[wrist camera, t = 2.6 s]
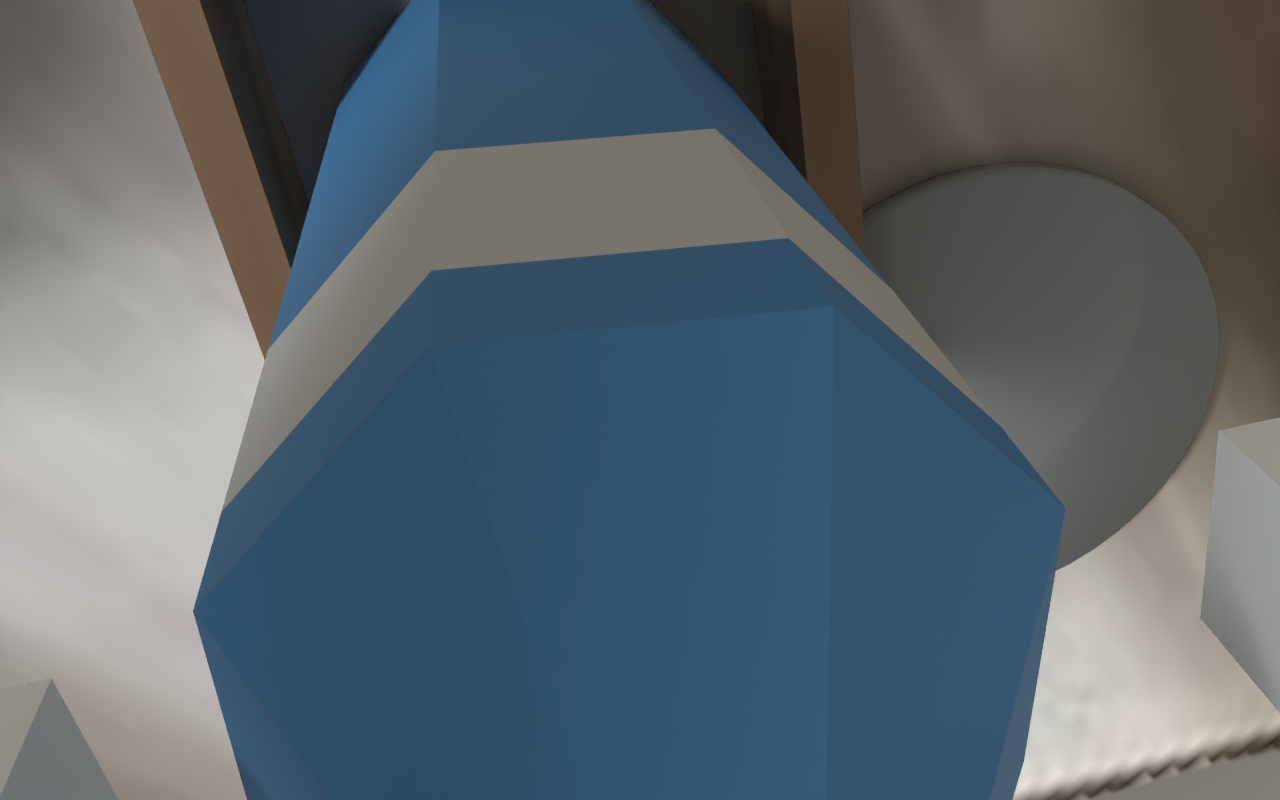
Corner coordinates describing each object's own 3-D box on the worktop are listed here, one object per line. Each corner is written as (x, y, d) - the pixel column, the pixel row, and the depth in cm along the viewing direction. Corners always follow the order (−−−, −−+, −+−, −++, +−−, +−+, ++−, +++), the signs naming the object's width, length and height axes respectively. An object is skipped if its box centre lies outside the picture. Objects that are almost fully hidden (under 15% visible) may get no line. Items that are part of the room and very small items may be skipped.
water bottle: (459, 369, 32) (486, 1680, 11) (260, 55, 28) (-411, 1245, 6) (775, 216, 31) (1507, 1303, 10) (625, -135, 27) (1386, 451, 5)
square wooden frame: (336, 435, 33) (323, 520, 29) (150, -105, 26) (103, -79, 22) (831, 331, 33) (875, 401, 30) (781, -226, 26) (832, -219, 23)
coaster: (765, 626, 38) (771, 643, 37) (708, 221, 31) (715, 232, 30) (1186, 533, 39) (1199, 548, 38) (1224, 114, 32) (1241, 123, 31)
